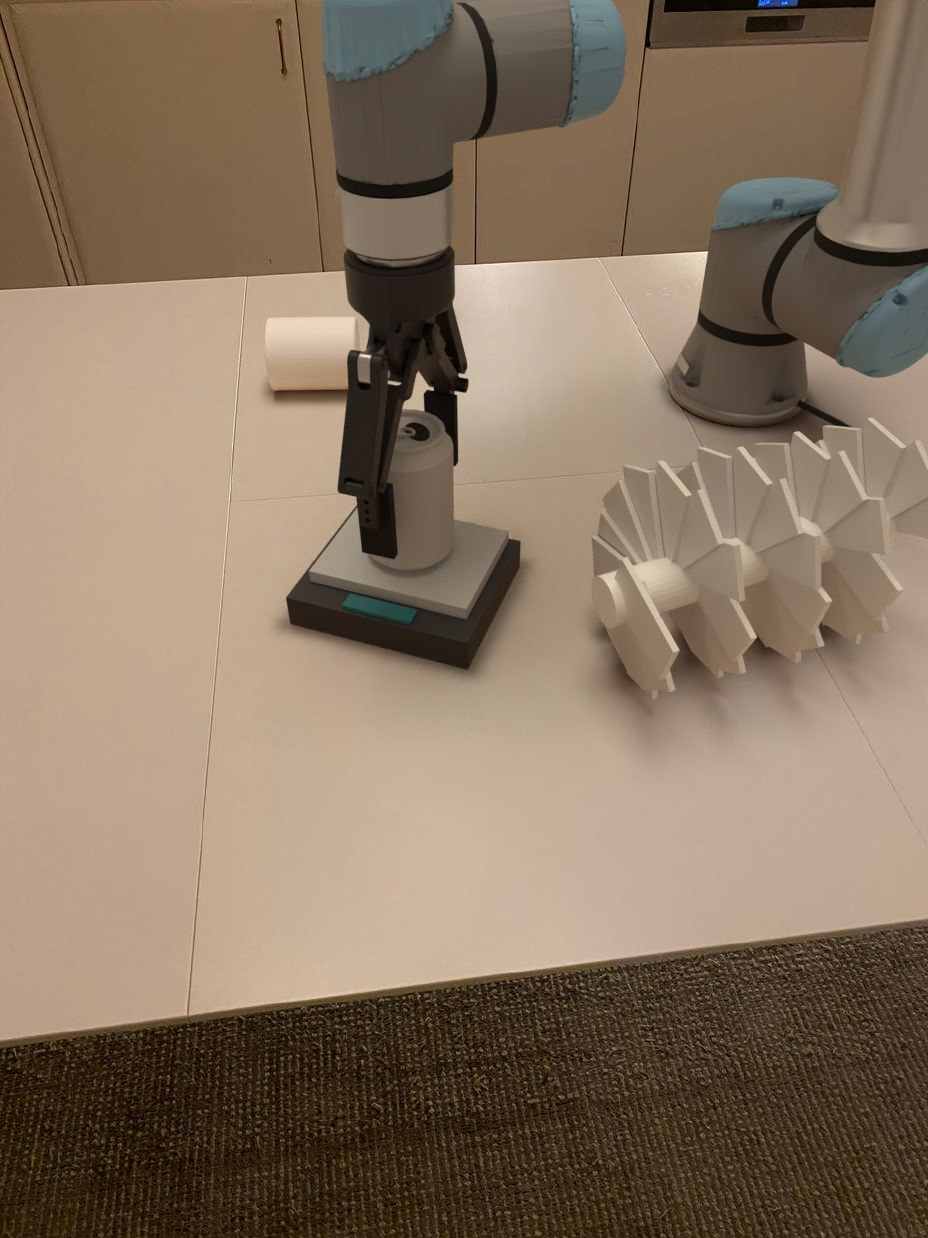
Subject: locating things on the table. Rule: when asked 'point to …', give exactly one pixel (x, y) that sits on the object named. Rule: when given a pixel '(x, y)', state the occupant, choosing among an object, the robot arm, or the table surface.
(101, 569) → the table surface
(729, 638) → the spiral staircase
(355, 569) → the scale
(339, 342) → the white coffee cup
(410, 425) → the can
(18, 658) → the table surface
